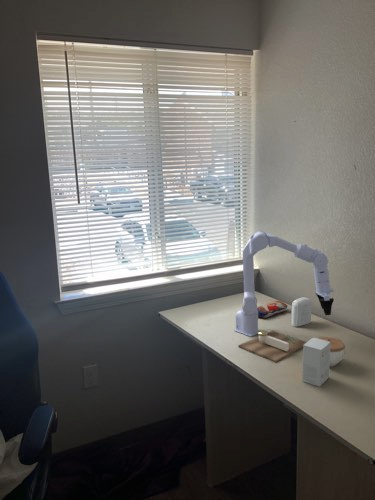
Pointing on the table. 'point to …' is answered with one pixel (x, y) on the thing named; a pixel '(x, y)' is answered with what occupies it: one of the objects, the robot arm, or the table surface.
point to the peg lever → (272, 341)
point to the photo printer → (301, 312)
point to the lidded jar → (335, 350)
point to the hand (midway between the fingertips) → (326, 311)
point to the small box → (316, 361)
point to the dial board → (272, 347)
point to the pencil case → (271, 309)
